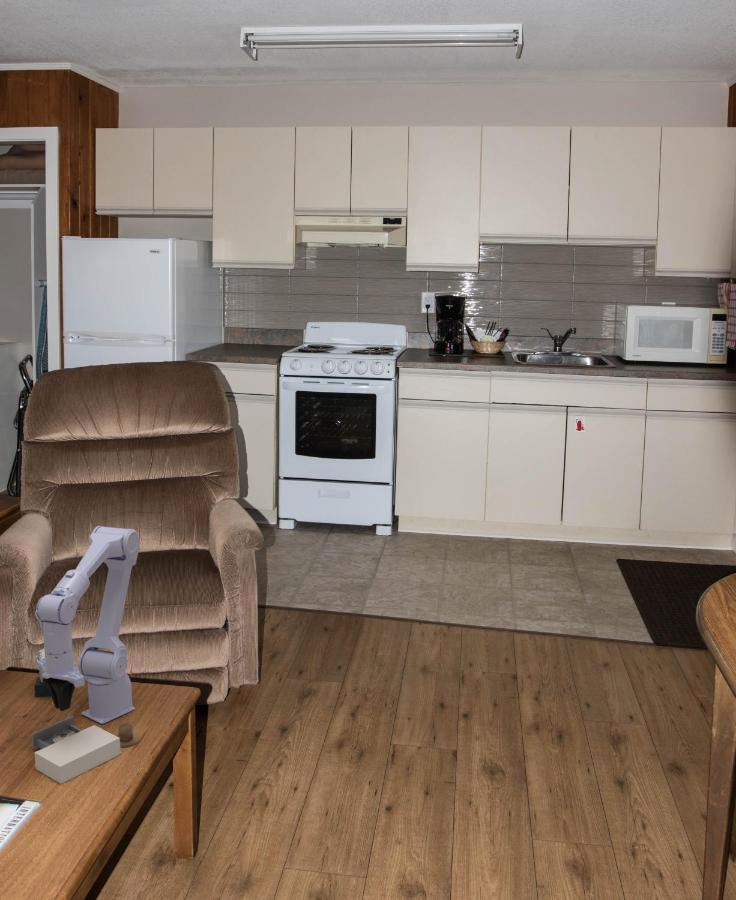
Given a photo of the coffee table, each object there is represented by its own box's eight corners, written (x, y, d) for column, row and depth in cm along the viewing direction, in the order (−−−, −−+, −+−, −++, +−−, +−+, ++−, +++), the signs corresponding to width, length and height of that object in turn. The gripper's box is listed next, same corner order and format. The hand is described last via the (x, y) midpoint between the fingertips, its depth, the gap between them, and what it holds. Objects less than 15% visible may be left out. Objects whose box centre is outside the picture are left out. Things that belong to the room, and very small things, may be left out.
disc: (67, 733, 210) (66, 727, 210) (80, 740, 207) (80, 734, 207) (47, 742, 207) (46, 736, 206) (60, 749, 203) (60, 743, 203)
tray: (32, 746, 206) (31, 733, 205) (73, 728, 214) (72, 715, 213) (56, 760, 200) (55, 746, 200) (97, 740, 208) (96, 727, 208)
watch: (62, 684, 237) (59, 642, 235) (57, 698, 229) (54, 656, 227) (39, 685, 236) (36, 644, 234) (33, 700, 228) (30, 658, 226)
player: (35, 768, 199) (33, 752, 198) (94, 740, 210) (93, 724, 209) (61, 783, 193) (60, 766, 192) (120, 754, 205) (119, 737, 204)
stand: (128, 732, 214) (127, 717, 213) (144, 740, 210) (143, 725, 210) (107, 742, 209) (107, 727, 209) (123, 750, 206) (123, 735, 205)
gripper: (22, 646, 204) (27, 704, 206) (62, 664, 195) (66, 725, 198) (51, 636, 209) (55, 693, 212) (91, 653, 200) (95, 712, 203)
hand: (62, 708), depth 205 cm, fingers closed
